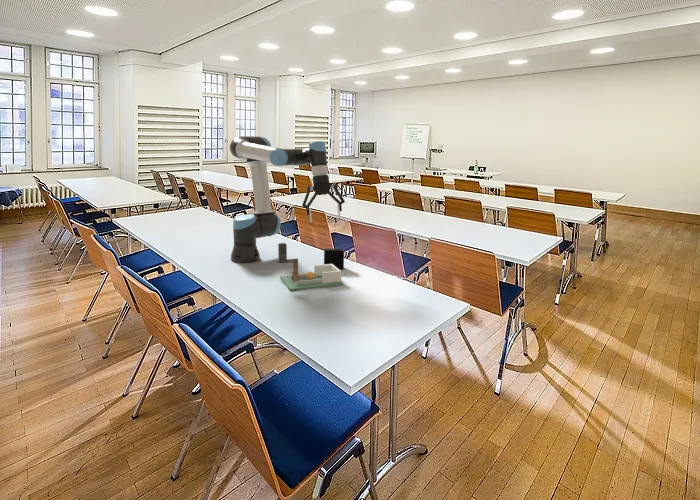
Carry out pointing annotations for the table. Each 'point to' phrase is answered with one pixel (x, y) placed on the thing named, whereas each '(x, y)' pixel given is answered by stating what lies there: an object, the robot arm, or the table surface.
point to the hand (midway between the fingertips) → (325, 220)
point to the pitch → (315, 278)
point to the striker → (287, 260)
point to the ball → (310, 275)
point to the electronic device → (334, 257)
